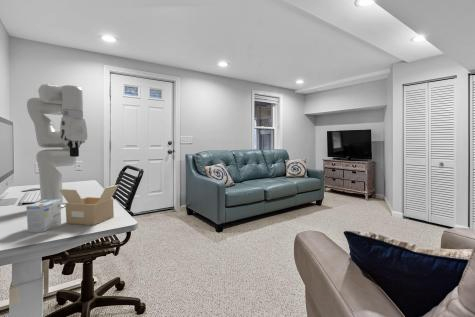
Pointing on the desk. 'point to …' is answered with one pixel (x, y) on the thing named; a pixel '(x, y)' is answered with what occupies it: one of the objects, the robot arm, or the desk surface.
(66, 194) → the flap
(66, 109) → the robot arm
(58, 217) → the light bulb box
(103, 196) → the flap
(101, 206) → the carton
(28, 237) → the desk surface
